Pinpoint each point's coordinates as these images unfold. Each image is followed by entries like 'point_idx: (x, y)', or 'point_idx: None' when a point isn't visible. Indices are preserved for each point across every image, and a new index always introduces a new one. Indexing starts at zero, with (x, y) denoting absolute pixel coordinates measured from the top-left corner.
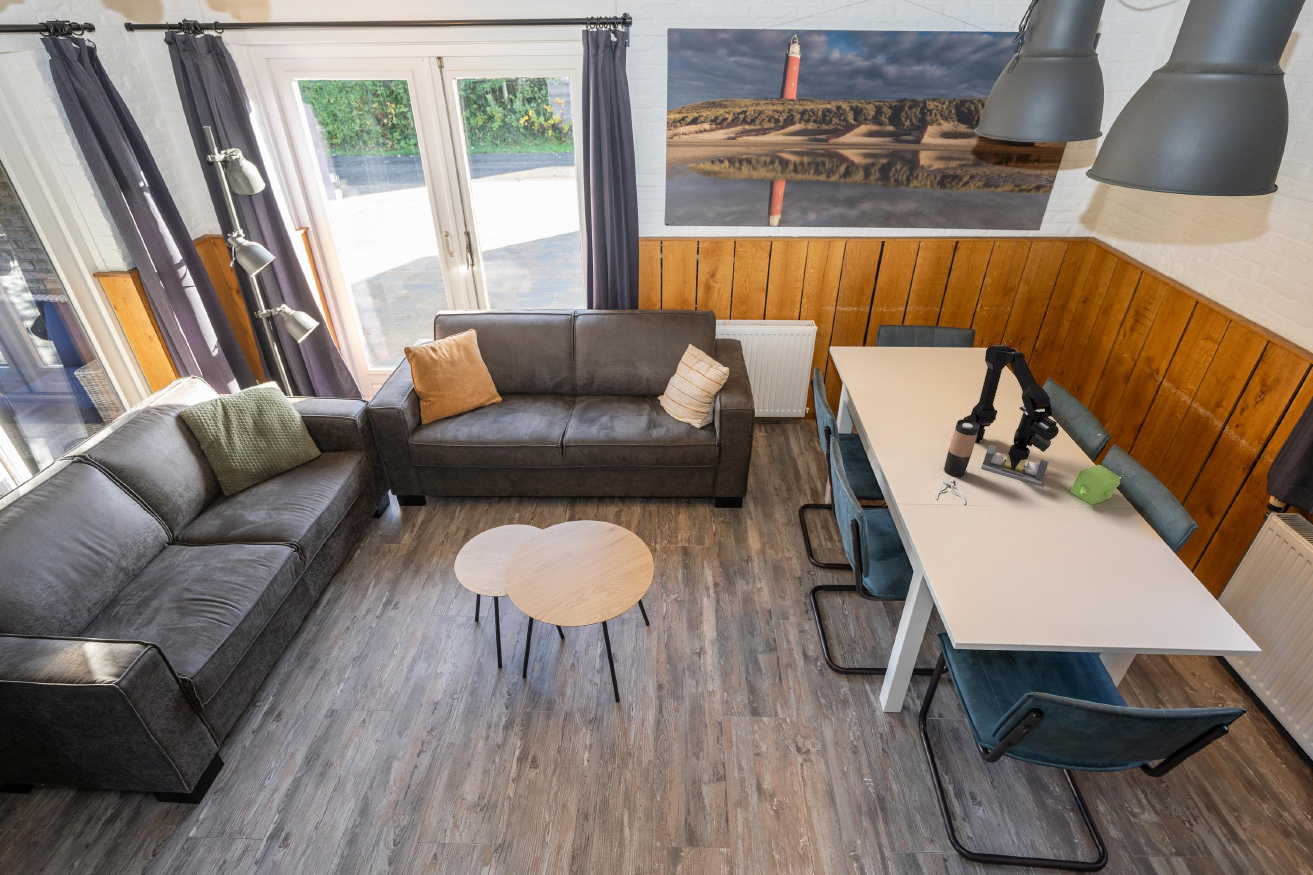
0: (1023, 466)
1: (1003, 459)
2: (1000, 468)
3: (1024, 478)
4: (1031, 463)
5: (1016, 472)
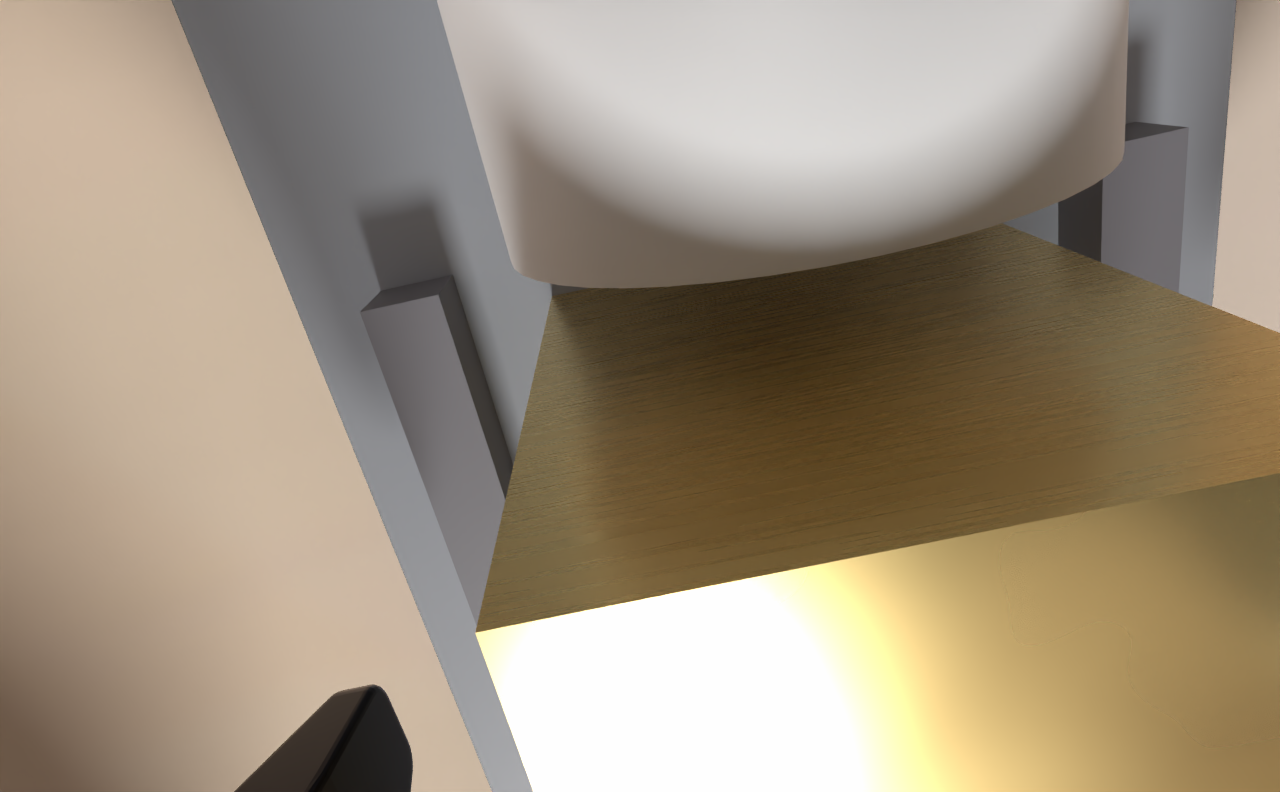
0: (1163, 297)
1: (495, 787)
2: None
3: (1213, 4)
4: (956, 13)
5: None
